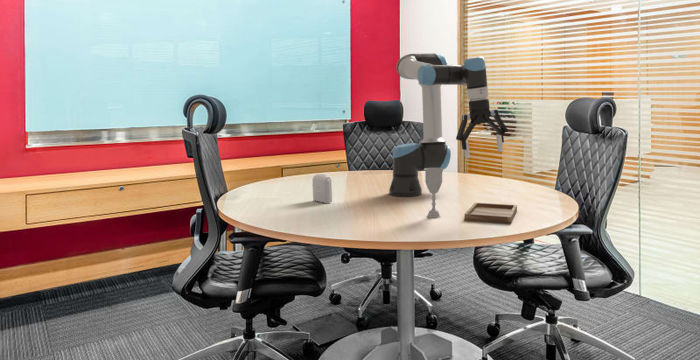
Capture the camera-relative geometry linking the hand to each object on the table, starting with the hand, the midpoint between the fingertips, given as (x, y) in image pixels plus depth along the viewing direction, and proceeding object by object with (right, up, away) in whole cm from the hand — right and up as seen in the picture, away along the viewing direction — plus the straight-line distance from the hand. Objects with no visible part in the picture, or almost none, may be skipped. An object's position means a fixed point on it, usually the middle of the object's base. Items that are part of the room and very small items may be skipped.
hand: (484, 154), depth 194 cm
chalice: (-20, -24, -4) cm, 31 cm away
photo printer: (-64, -19, +28) cm, 72 cm away
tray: (+1, -23, -5) cm, 24 cm away
